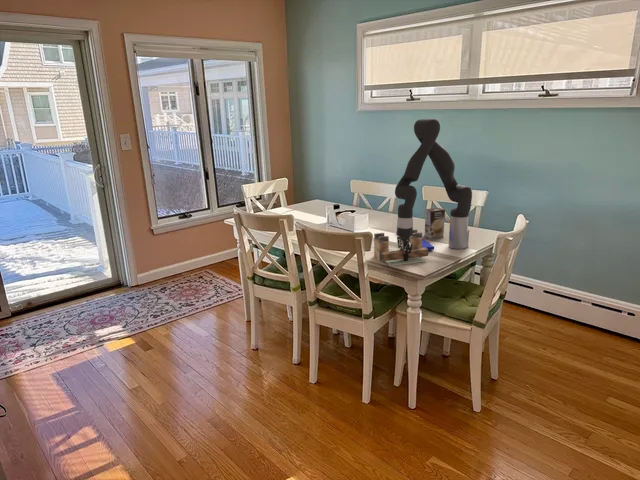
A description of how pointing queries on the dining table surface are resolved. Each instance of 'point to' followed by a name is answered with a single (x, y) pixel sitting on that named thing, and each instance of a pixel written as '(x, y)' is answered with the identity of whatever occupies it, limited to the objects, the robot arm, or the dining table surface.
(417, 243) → the post
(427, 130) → the robot arm
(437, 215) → the coffee box
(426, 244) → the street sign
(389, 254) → the rail
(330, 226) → the dining table surface
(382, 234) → the post
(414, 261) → the mat
